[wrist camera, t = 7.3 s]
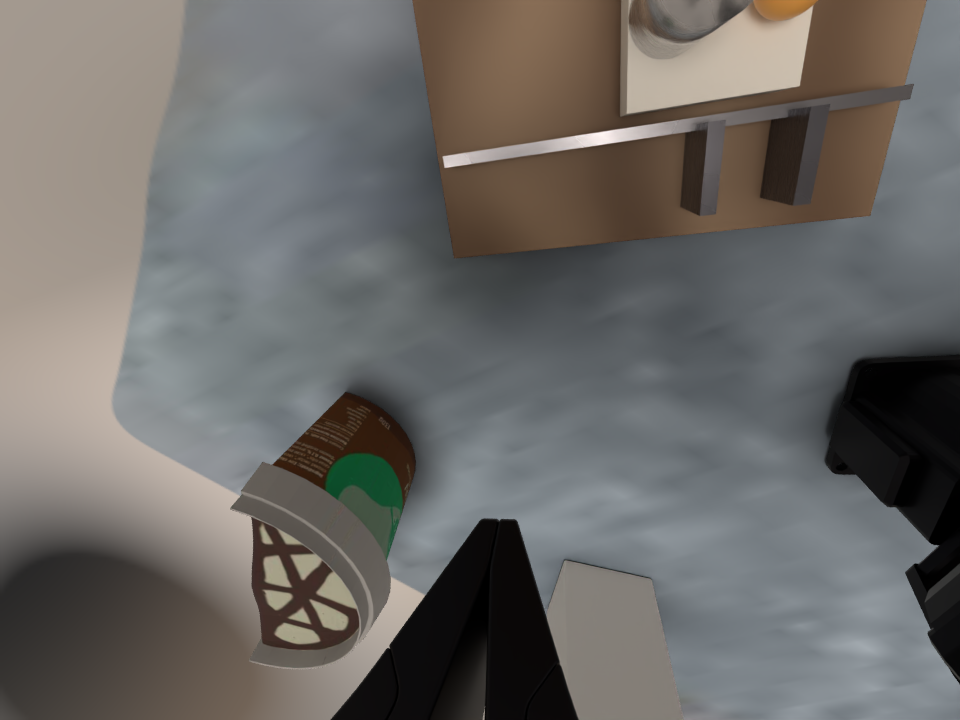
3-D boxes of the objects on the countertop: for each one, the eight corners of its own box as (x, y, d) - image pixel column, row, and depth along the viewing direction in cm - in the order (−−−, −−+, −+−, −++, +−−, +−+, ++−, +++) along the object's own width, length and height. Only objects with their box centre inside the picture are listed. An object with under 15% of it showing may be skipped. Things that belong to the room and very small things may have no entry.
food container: (420, 537, 30) (364, 701, 21) (338, 514, 30) (249, 667, 21) (448, 397, 24) (387, 543, 15) (346, 370, 24) (228, 498, 15)
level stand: (979, -360, 11) (1189, -609, 7) (845, 210, 17) (922, 227, 13) (395, -171, 14) (342, -278, 10) (460, 251, 20) (440, 273, 16)
